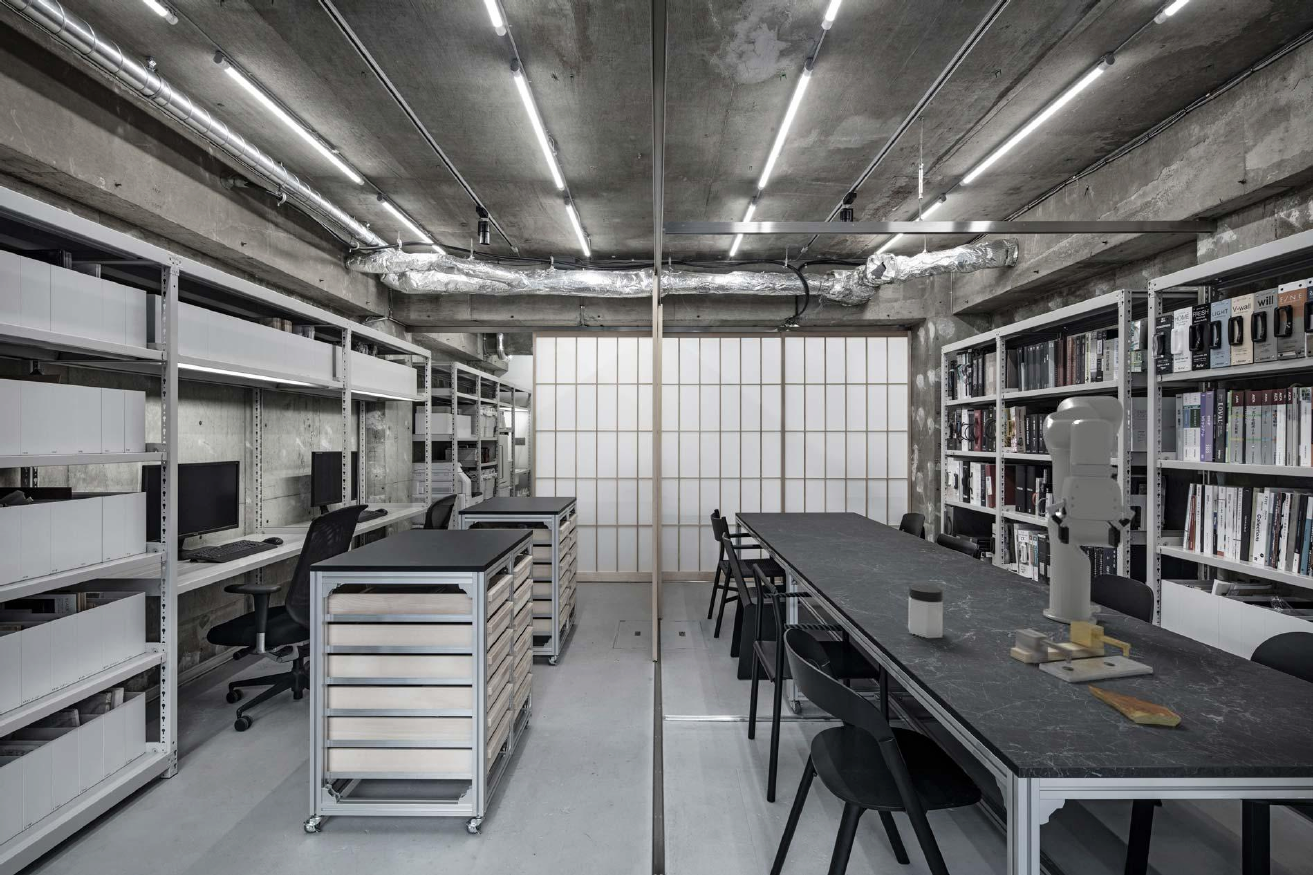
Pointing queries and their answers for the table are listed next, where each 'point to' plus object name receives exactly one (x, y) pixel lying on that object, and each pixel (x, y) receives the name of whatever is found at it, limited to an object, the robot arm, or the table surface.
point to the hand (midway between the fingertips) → (1088, 544)
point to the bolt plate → (1095, 668)
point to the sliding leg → (1094, 636)
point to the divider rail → (1048, 648)
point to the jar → (925, 611)
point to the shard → (1137, 708)
